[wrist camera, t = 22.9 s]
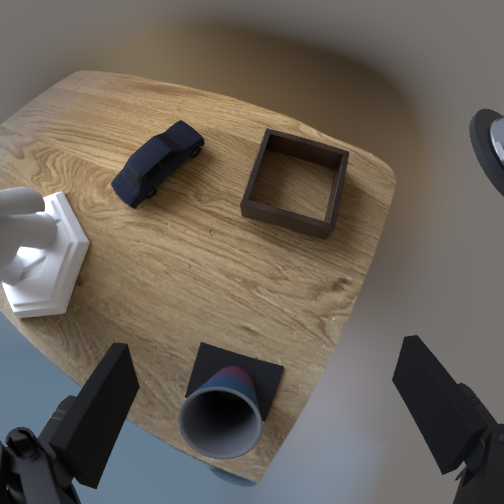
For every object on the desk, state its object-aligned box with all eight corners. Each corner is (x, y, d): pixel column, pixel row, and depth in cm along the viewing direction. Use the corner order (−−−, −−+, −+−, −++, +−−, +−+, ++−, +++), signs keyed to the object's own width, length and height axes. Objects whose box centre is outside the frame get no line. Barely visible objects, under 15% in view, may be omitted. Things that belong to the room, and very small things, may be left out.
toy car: (208, 148, 42) (203, 129, 38) (136, 214, 40) (122, 202, 36) (184, 128, 43) (177, 109, 38) (115, 191, 41) (100, 177, 36)
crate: (341, 166, 42) (349, 151, 37) (325, 240, 39) (333, 230, 35) (265, 145, 42) (266, 128, 38) (241, 215, 40) (240, 203, 36)
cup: (198, 393, 35) (165, 436, 20) (220, 349, 36) (198, 371, 21) (245, 416, 34) (239, 470, 20) (269, 372, 35) (277, 408, 21)
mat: (283, 366, 36) (283, 367, 36) (265, 420, 34) (265, 421, 34) (201, 342, 37) (200, 342, 36) (185, 396, 35) (184, 397, 35)
